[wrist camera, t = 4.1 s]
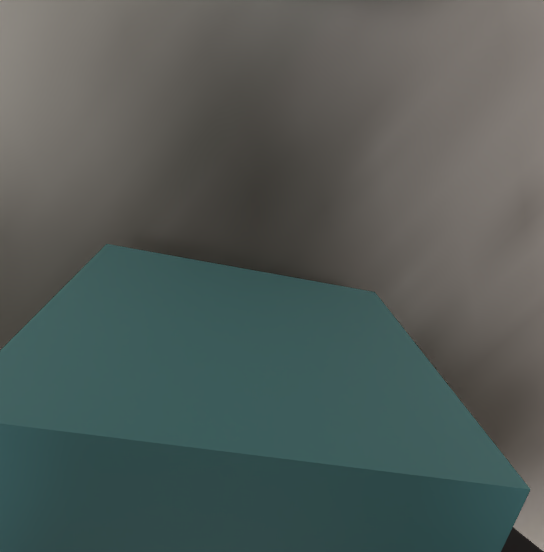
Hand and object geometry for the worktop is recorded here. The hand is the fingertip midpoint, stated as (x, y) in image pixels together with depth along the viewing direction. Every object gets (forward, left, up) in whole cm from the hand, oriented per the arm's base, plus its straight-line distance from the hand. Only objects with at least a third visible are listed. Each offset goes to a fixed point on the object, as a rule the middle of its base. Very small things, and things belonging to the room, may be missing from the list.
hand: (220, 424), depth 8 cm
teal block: (0, 0, -1) cm, 1 cm away
